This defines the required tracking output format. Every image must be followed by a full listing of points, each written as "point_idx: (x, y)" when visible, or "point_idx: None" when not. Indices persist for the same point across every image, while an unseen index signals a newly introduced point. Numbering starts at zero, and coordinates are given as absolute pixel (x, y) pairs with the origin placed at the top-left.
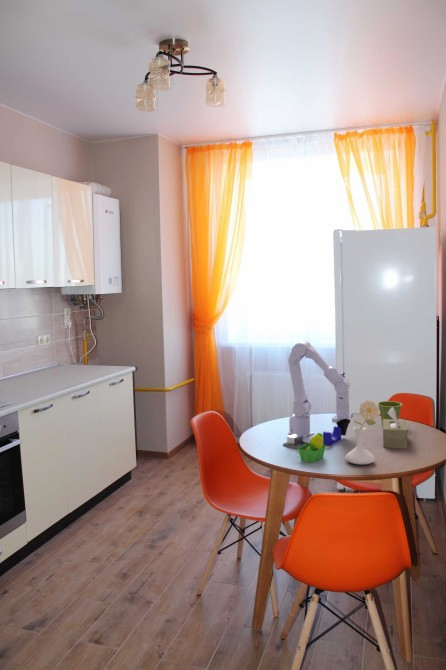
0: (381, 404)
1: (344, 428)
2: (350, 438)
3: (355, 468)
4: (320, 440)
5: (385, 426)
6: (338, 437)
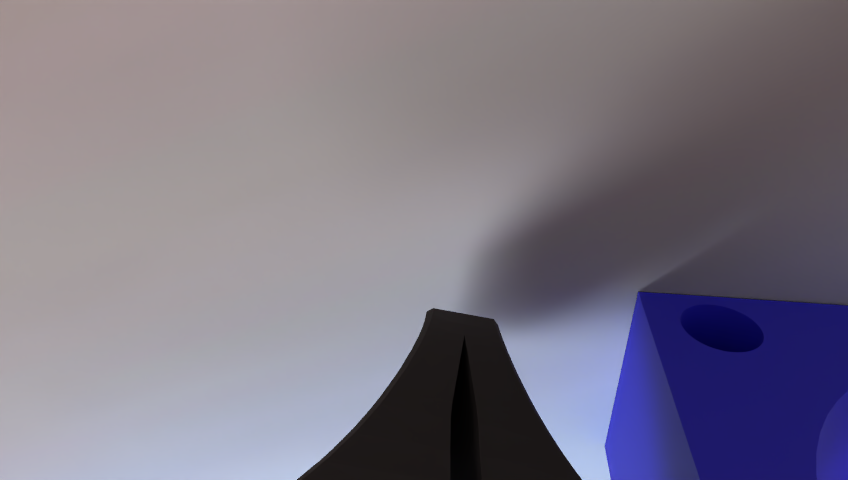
0: None
1: (553, 444)
2: (413, 174)
3: None
4: None
5: None
6: (814, 361)
